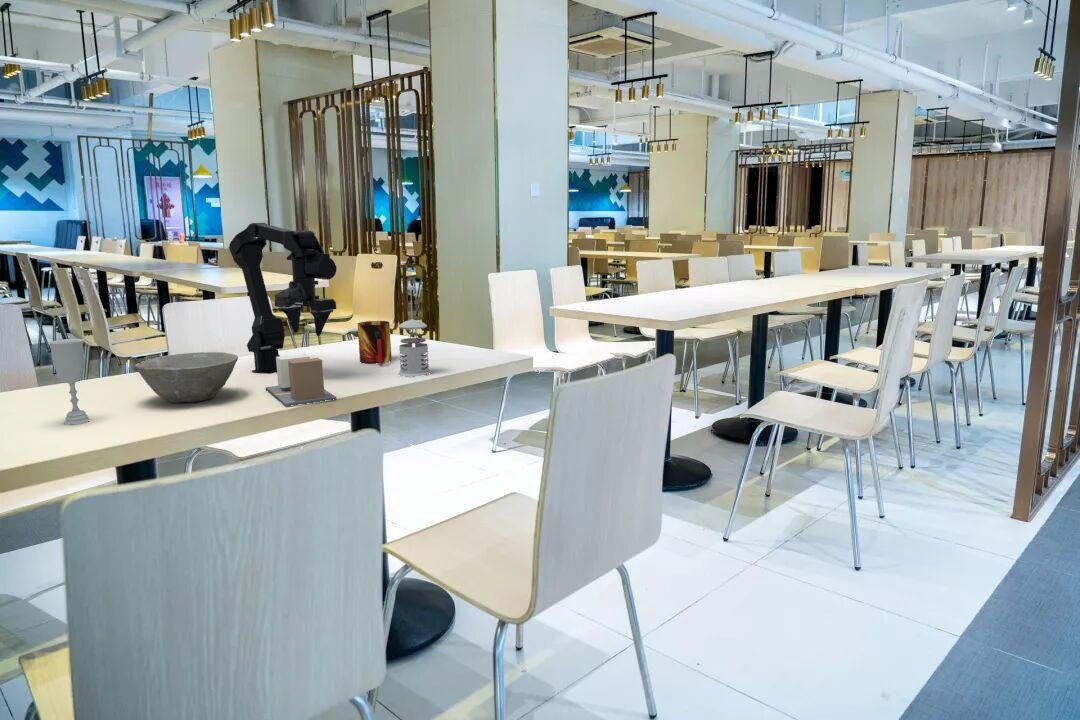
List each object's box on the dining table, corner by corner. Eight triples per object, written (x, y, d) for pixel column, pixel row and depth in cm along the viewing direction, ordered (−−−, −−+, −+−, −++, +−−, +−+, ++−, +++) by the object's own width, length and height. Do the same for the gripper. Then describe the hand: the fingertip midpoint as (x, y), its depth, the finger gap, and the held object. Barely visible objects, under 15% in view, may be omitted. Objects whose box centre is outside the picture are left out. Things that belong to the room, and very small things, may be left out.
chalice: (70, 418, 168) (59, 339, 164) (101, 416, 168) (91, 338, 165) (51, 426, 160) (40, 344, 157) (84, 425, 161) (73, 343, 158)
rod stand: (265, 390, 193) (262, 352, 191) (312, 384, 199) (309, 347, 197) (285, 407, 174) (282, 365, 172) (336, 400, 180) (333, 359, 179)
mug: (380, 366, 222) (377, 327, 219) (353, 361, 231) (351, 323, 229) (406, 362, 229) (404, 323, 226) (379, 357, 238) (377, 320, 236)
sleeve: (278, 384, 190) (275, 356, 189) (306, 380, 194) (304, 353, 193) (282, 387, 186) (280, 359, 185) (311, 384, 190) (309, 356, 188)
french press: (396, 377, 205) (391, 287, 201) (397, 369, 217) (393, 283, 212) (432, 376, 207) (428, 286, 202) (431, 368, 218) (428, 282, 213)
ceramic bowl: (143, 395, 189) (138, 356, 188) (240, 386, 198) (236, 349, 196) (134, 415, 169) (129, 372, 168) (242, 404, 178) (239, 363, 176)
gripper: (256, 277, 200) (260, 334, 203) (303, 281, 190) (306, 341, 194) (290, 274, 209) (293, 329, 213) (336, 278, 200) (339, 335, 203)
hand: (306, 334), depth 205 cm, fingers open, 9 cm apart
